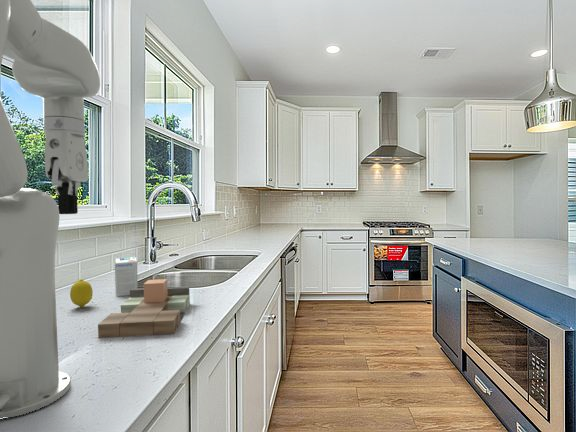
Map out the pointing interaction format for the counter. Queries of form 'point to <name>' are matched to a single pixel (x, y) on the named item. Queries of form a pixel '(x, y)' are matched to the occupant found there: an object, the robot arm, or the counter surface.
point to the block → (155, 290)
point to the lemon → (81, 293)
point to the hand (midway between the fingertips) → (68, 213)
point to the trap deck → (146, 315)
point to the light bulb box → (125, 275)
